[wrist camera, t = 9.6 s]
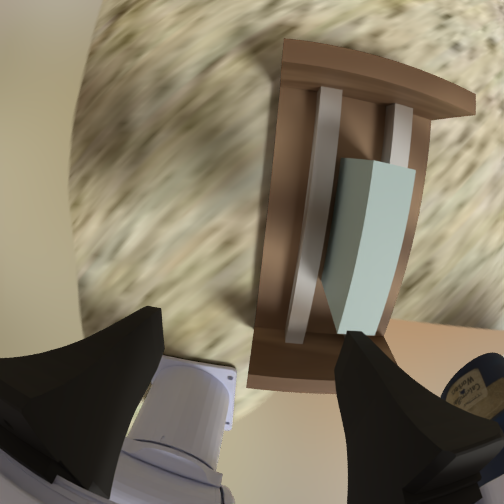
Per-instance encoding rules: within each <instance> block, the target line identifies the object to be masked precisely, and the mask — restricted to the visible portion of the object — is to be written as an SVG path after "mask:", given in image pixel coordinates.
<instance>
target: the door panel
mask: <svg viewBox="0 0 504 504" xmlns="http://www.w3.org/2000/svg"><path fill="white" fill-rule="evenodd" d="M415 173H416V170H413V169H409V168H405V167H401V166H397V165H393V164H388V163H384V162H379V161H375V160H365V159H354V158H341V161H340V169H339V177H338V184H337V191H336V198H335V205H334V211H333V218H332V224H331V230H330V236H329V241H328V247H327V253H326V258H325V263H324V268H323V273H322V278H321V282H322V285H323V288H324V292H325V295H326V298H327V301H328V304H329V308H330V311H331V314H332V317H333V321H334V324H335V327H336V331H337V334H346V332H347V330H348V331H362V332H363V333H364V334H365V335H375V333H376V331H377V328H378V325H379V322H380V319H381V316H382V313H383V310H384V307H385V304H386V301H387V298H388V294H389V291H390V288H391V284H392V281H393V277H394V274H395V270H396V266H397V263H398V259H399V255H400V251H401V247H402V243H403V238H404V234H405V229H406V225H407V220H408V215H409V210H410V204H411V199H412V193H413V187H414V180H415Z"/></svg>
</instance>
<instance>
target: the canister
mask: <svg viewBox="0 0 504 504" xmlns="http://www.w3.org/2000/svg"><path fill="white" fill-rule="evenodd" d="M441 399H443V400H445V401H447V402H448V403H450V404H452V405H454V406H456V407H458V408H460V409H462V410H465V411H467V412H469V413H472V414H474V415H477V416H480V417H483V418H486V419H489V420H493V421H496V422H498V424H499V426H500V428H501V429H502V431H503V433H504V357H503V356H501V355H499V354H498V353H487V354H483V355H481V356H478V357H477V358H475V359H473V360H472V361H471V362H469V363H467V364H466V365H465V366H464V367H463V368H461V369H460V370H459V371H458V372H457V373H456V374H455V375H454V376H453V378H452V379H451V380H450V381H449V383H448V384H447V386H446V387H445V389H444V391H443V393H442V395H441ZM480 474H481V477H482V478H481V480H480V481H479V482H477V483H478V486H479V488H480V487H482V486H483V485H485V484H486V483H488V482H490V481H492V480H494V479H496V478H498V477H500V476H501V475H503V474H504V447H503V448H502V450H501V451H500V452H499V453H498V454H497V455H496V456H495V457H494V458H493V459H492V460H491V461H490V462H489V463H488V464H487V465H486V466H485V467H484V468H483V469H482V470H481V471H480Z"/></svg>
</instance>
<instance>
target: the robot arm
mask: <svg viewBox="0 0 504 504" xmlns="http://www.w3.org/2000/svg"><path fill="white" fill-rule="evenodd" d="M164 349H165V347H164V337H163V326H162V313H161V308H157V307H151V306H146V307H143V308H142V309H140V310H138V311H136V312H134V313H132V314H131V315H129V316H127V317H125V318H124V319H122V320H120V321H118V322H117V323H115V324H113V325H111V326H109V327H107V328H105V329H103V330H101V331H99V332H97V333H95V334H93V335H91V336H89V337H87V338H85V339H83V340H80V341H78V342H75V343H73V344H70V345H67V346H64V347H62V348H58V349H54V350H50V351H47V352H43V353H39V354H34V355H28V356H22V357H14V358H0V504H235V500H234V497H233V496H232V494H231V491H230V489H229V488H228V487H226V486H223V485H221V481H222V475H223V474H222V473H219V472H216V468H217V463H218V458H219V453H220V448H221V442H222V437H223V432H224V430H228V431H229V430H231V429H232V423H233V411H234V400H235V388H236V377H237V370H236V369H235V368H233V367H227V366H220V365H214V364H208V363H202V362H196V361H190V360H185V359H180V358H175V357H170V356H165V355H163V352H164ZM334 375H335V387H336V394H337V399H338V404H339V408H340V413H341V417H342V422H343V427H344V432H345V437H346V444H347V460H348V496H347V504H504V474H503V475H501V476H500V477H498V478H496V479H494V480H492V481H490V482H488V483H486V484H485V485H483V486H482V487H480V488H479V486H478V483H477V482H479V481H480V480H481V478H482V477H481V474H480V471H481V470H482V469H483V468H484V467H485V466H486V465H487V464H488V463H489V462H490V461H491V460H492V459H493V458H494V457H495V456H496V455H497V454H498V453H499V452H500V451H501V450H502V448H503V447H504V433H503V431H502V429H501V428H500V426H499V424H498V422H496V421H493V420H489V419H486V418H483V417H480V416H477V415H474V414H472V413H469V412H467V411H465V410H462V409H460V408H458V407H456V406H454V405H452V404H450V403H448V402H447V401H445V400H443V399H441V398H440V397H438V396H436V395H435V394H433V393H432V392H430V391H429V390H427V389H426V388H425V387H423V386H422V385H420V384H419V383H418V382H416V381H415V380H414V379H412V378H411V377H410V376H409V375H408V374H407V373H405V372H404V371H403V370H402V369H401V368H400V367H399V366H397V365H396V364H395V363H394V362H393V361H392V360H391V359H390V358H389V357H388V356H387V355H386V354H385V353H384V352H383V351H382V350H381V349H380V348H379V347H378V346H377V345H376V344H375V343H374V342H373V341H372V340H371V339H370V338H369V337H368V336H366V335H365V334H364V333H363V332H362V331H348V330H347V332H346V336H345V339H344V342H343V345H342V348H341V351H340V354H339V357H338V360H337V363H336V365H335V368H334ZM229 376H232V377H229ZM150 382H151V383H152V386H151V388H150V390H149V392H148V394H147V396H146V398H145V400H144V403H143V405H142V407H141V409H140V411H139V413H138V415H137V417H136V419H135V421H134V423H133V426H132V428H131V430H130V432H129V434H128V436H127V437H125V436H126V433H127V431H128V428H129V425H130V422H131V420H132V417H133V415H134V413H135V410H136V408H137V406H138V405H139V403H140V401H141V399H142V397H143V395H144V393H145V391H146V390H147V388H148V386H149V384H150Z"/></svg>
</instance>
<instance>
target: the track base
mask: <svg viewBox="0 0 504 504" xmlns="http://www.w3.org/2000/svg"><path fill="white" fill-rule="evenodd" d="M471 115H476V94H474V93H472V92H470V91H468V90H466V89H464V88H462V87H460V86H458V85H456V84H454V83H451V82H449V81H447V80H445V79H442V78H440V77H437V76H435V75H432V74H430V73H427V72H425V71H422V70H420V69H417V68H414V67H411V66H408V65H405V64H402V63H399V62H396V61H393V60H390V59H387V58H383V57H380V56H376V55H372V54H369V53H365V52H361V51H357V50H352V49H348V48H343V47H338V46H333V45H328V44H322V43H316V42H310V41H302V40H295V39H286V38H284V43H283V54H282V67H281V83H280V94H279V105H278V115H277V125H276V135H275V145H274V155H273V165H272V174H271V184H270V193H269V203H268V212H267V221H266V230H265V239H264V248H263V257H262V266H261V275H260V283H259V292H258V301H257V309H256V318H255V326H254V334H253V341H252V349H251V356H250V363H249V371H248V379H247V387H246V388H252V389H261V390H272V391H283V392H299V393H320V394H336V387H335V375H334V368H335V365H336V363H337V360H338V357H339V354H340V351H341V348H342V345H343V342H344V339H345V336H346V334H337V331H336V327H335V324H334V321H333V317H332V314H331V311H330V308H329V304H328V301H327V298H326V295H325V292H324V288H323V285H322V282H321V278H322V273H323V268H324V263H325V258H326V253H327V247H328V241H329V236H330V230H331V224H332V218H333V211H334V205H335V198H336V191H337V184H338V177H339V169H340V161H341V158H354V159H365V160H375V161H379V162H384V163H388V164H393V165H397V166H401V167H405V168H409V169H413V170H416V173H415V180H414V187H413V193H412V199H411V204H410V210H409V215H408V220H407V225H406V229H405V234H404V238H403V243H402V247H401V251H400V255H399V259H398V263H397V266H396V270H395V274H394V277H393V281H392V284H391V288H390V291H389V294H388V298H387V301H386V304H385V307H384V310H383V313H382V316H381V319H380V322H379V325H378V328H377V331H376V333H375V335H366V336H368V337H369V338H370V339H371V340H372V341H373V342H374V343H375V344H376V345H377V346H378V347H379V348H380V349H381V350H382V351H383V352H384V353H385V354H386V355H387V356H388V357H389V358H390V359H391V360H392V361H393V362H394V363H395V364H396V365H397V363H396V361H395V359H394V357H393V355H392V353H391V350H390V348H389V346H388V344H387V342H386V340H385V338H384V334H385V331H386V328H387V325H388V323H389V320H390V317H391V314H392V312H393V309H394V306H395V303H396V300H397V296H398V293H399V290H400V287H401V284H402V280H403V277H404V273H405V270H406V266H407V263H408V259H409V255H410V251H411V247H412V243H413V239H414V234H415V230H416V225H417V221H418V216H419V211H420V206H421V200H422V194H423V188H424V182H425V175H426V168H427V160H428V151H429V141H430V129H431V120H437V119H445V118H453V117H461V116H471ZM397 366H398V365H397Z"/></svg>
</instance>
